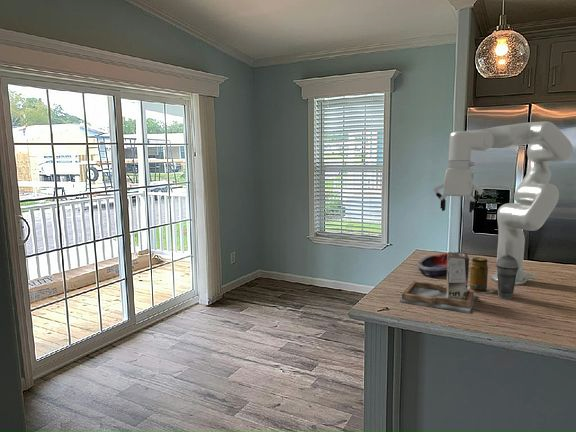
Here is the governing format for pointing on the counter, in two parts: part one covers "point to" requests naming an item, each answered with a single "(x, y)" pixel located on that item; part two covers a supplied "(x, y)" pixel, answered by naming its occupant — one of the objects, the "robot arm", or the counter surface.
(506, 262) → the beverage cup
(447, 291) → the coffee box
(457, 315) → the counter surface
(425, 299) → the wooden tray
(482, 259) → the condiment
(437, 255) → the dish
